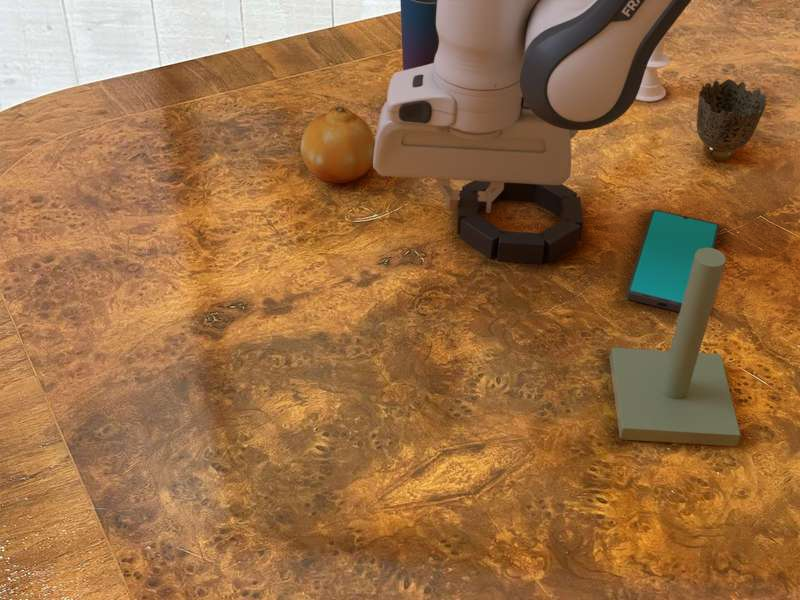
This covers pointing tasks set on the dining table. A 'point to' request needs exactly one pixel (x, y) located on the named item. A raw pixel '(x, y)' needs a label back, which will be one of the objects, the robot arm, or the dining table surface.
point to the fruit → (338, 146)
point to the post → (678, 375)
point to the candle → (654, 75)
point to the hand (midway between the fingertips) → (467, 209)
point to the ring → (522, 243)
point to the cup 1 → (418, 32)
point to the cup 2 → (727, 117)
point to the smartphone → (668, 258)
